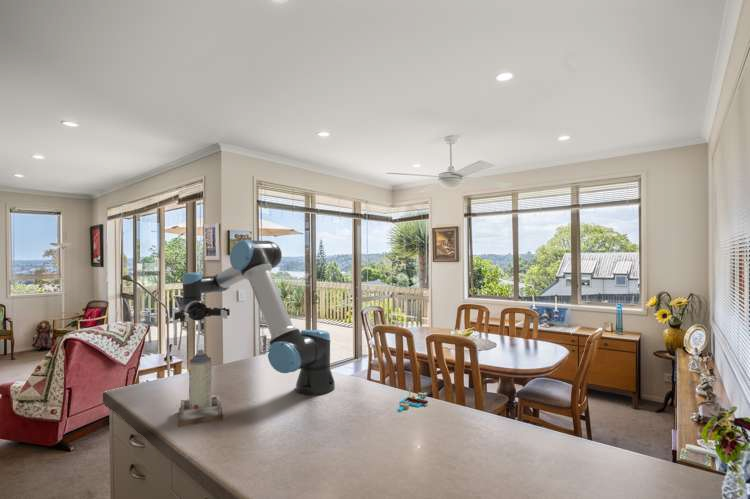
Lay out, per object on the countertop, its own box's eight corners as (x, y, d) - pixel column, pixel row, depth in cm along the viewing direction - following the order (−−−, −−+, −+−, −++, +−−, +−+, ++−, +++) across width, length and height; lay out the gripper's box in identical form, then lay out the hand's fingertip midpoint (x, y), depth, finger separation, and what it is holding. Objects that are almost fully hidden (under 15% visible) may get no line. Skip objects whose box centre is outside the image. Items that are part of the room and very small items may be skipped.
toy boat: (439, 398, 149) (416, 393, 154) (439, 383, 149) (416, 379, 155) (412, 416, 133) (389, 410, 138) (412, 399, 133) (388, 394, 138)
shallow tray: (220, 405, 142) (220, 394, 142) (222, 419, 130) (222, 406, 130) (179, 411, 136) (179, 399, 136) (178, 426, 124) (178, 413, 125)
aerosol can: (194, 407, 137) (194, 348, 137) (214, 406, 137) (214, 347, 137) (185, 414, 130) (185, 352, 130) (206, 414, 130) (206, 352, 130)
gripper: (226, 316, 176) (240, 323, 159) (163, 322, 162) (170, 330, 145) (226, 299, 176) (240, 304, 159) (163, 303, 162) (170, 309, 145)
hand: (207, 316), depth 152 cm, fingers open, 13 cm apart
